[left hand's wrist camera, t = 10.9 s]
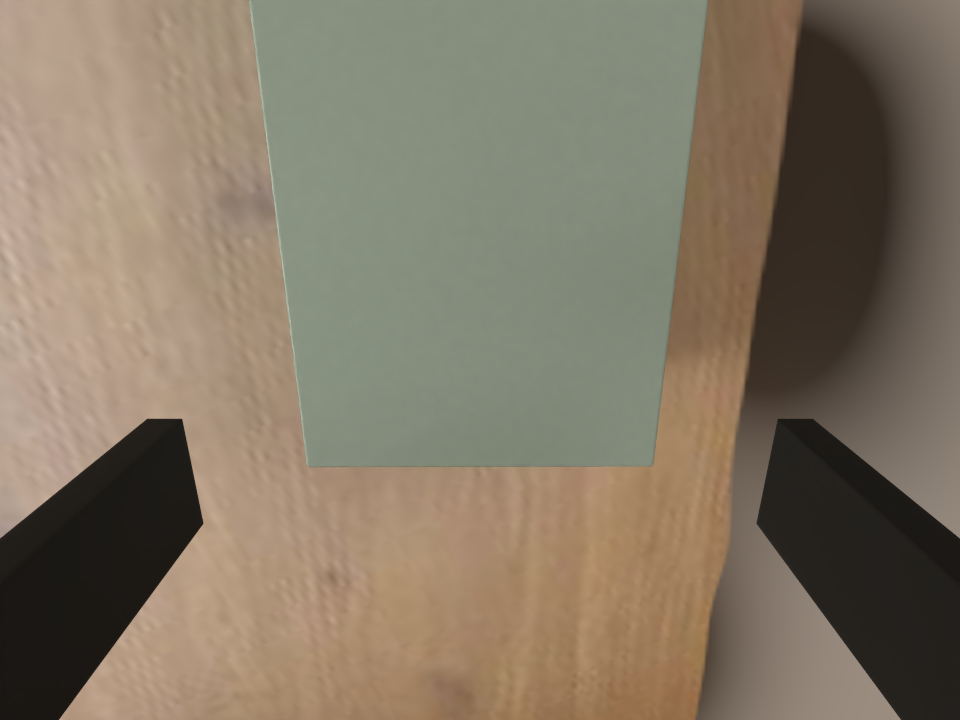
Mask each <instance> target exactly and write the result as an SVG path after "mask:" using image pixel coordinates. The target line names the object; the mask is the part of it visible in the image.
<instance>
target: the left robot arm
mask: <svg viewBox="0 0 960 720" xmlns="http://www.w3.org/2000/svg"><path fill="white" fill-rule="evenodd" d="M202 525H203V519H202V514H201V509H200V504H199V499H198V495H197V490H196V485H195V480H194V475H193V470H192V465H191V460H190V455H189V450H188V445H187V441H186V436H185V431H184V426H183V421H182V419H147V420H145V421H144V422H143V423H142V424H140V425H139V426H138V427H137V428H136V429H134V430H133V431H132V432H131V433H129V434H128V435H127V436H126V437H124V438H123V439H122V440H121V441H120V442H118V443H117V444H116V445H115V446H113V447H112V448H111V449H110V450H108V451H107V452H106V453H105V454H104V455H102V456H101V457H100V458H99V459H97V460H96V461H95V462H94V463H93V464H91V465H90V466H89V467H88V468H86V469H85V470H84V471H83V472H81V473H80V474H79V475H78V476H77V477H75V478H74V479H73V480H72V481H70V482H69V483H68V484H67V485H65V486H64V487H63V488H62V489H61V490H59V491H58V492H57V493H56V494H54V495H53V496H52V497H51V498H49V499H48V500H47V501H46V502H45V503H43V504H42V505H41V506H40V507H38V508H37V509H36V510H35V511H34V512H32V513H31V514H30V515H29V516H27V517H26V518H25V519H24V520H22V521H21V522H20V523H19V524H18V525H16V526H15V527H14V528H13V529H11V530H10V531H9V532H8V533H6V534H5V535H4V536H3V537H2V538H0V720H59V719H60V717H61V716H62V715H63V713H64V712H65V711H66V709H67V708H68V707H69V705H70V704H71V703H72V701H73V700H74V698H75V697H76V696H77V694H78V693H79V692H80V690H81V689H82V688H83V686H84V685H85V684H86V682H87V681H88V679H89V678H90V677H91V675H92V674H93V673H94V671H95V670H96V669H97V667H98V666H99V665H100V663H101V662H102V660H103V659H104V658H105V656H106V655H107V654H108V652H109V651H110V650H111V648H112V647H113V646H114V644H115V643H116V641H117V640H118V639H119V637H120V636H121V635H122V633H123V632H124V631H125V629H126V628H127V627H128V625H129V624H130V622H131V621H132V620H133V618H134V617H135V616H136V614H137V613H138V612H139V610H140V609H141V608H142V606H143V605H144V603H145V602H146V601H147V599H148V598H149V597H150V595H151V594H152V593H153V591H154V590H155V589H156V587H157V586H158V584H159V583H160V582H161V580H162V579H163V578H164V576H165V575H166V574H167V572H168V571H169V570H170V568H171V567H172V566H173V564H174V563H175V561H176V560H177V559H178V557H179V556H180V555H181V553H182V552H183V551H184V549H185V548H186V547H187V545H188V544H189V542H190V541H191V540H192V538H193V537H194V536H195V534H196V533H197V532H198V530H199V529H200V528H201V526H202ZM757 525H758V526H759V527H760V529H761V530H762V532H763V533H764V534H765V536H766V537H767V538H768V540H769V541H770V542H771V544H772V545H773V547H774V548H775V549H776V551H777V552H778V553H779V555H780V556H781V557H782V559H783V560H784V561H785V563H786V564H787V565H788V567H789V568H790V570H791V571H792V572H793V574H794V575H795V576H796V578H797V579H798V580H799V582H800V583H801V585H802V586H803V587H804V588H805V590H806V591H807V593H808V594H809V595H810V597H811V598H812V599H813V601H814V602H815V603H816V605H817V606H818V608H819V609H820V610H821V612H822V613H823V614H824V616H825V617H826V618H827V620H828V621H829V622H830V624H831V625H832V627H833V628H834V629H835V631H836V632H837V633H838V635H839V636H840V637H841V639H842V640H843V641H844V643H845V644H846V645H847V647H848V648H849V650H850V651H851V652H852V654H853V655H854V656H855V658H856V659H857V660H858V662H859V663H860V664H861V666H862V667H863V669H864V670H865V671H866V673H867V674H868V675H869V677H870V678H871V679H872V681H873V682H874V683H875V685H876V686H877V688H878V689H879V690H880V692H881V693H882V694H883V696H884V697H885V698H886V700H887V701H888V702H889V704H890V705H891V707H892V708H893V709H894V711H895V712H896V713H897V715H898V716H899V717H900V719H901V720H960V538H958V537H957V536H956V535H955V534H953V533H952V532H951V531H950V530H949V529H947V528H946V527H945V526H944V525H942V524H941V523H940V522H939V521H937V520H936V519H935V518H934V517H933V516H931V515H930V514H929V513H928V512H926V511H925V510H924V509H923V508H922V507H920V506H919V505H918V504H917V503H915V502H914V501H913V500H912V499H911V498H909V497H908V496H907V495H906V494H904V493H903V492H902V491H901V490H899V489H898V488H897V487H896V486H895V485H893V484H892V483H891V482H890V481H888V480H887V479H886V478H885V477H883V476H882V475H881V474H880V473H879V472H877V471H876V470H875V469H874V468H872V467H871V466H870V465H869V464H867V463H866V462H865V461H864V460H863V459H861V458H860V457H859V456H858V455H856V454H855V453H854V452H853V451H852V450H850V449H849V448H848V447H847V446H845V445H844V444H843V443H842V442H840V441H839V440H838V439H837V438H836V437H834V436H833V435H832V434H831V433H829V432H828V431H827V430H826V429H824V428H823V427H822V426H821V425H820V424H818V423H817V422H816V421H815V420H813V419H778V421H777V426H776V431H775V436H774V441H773V446H772V451H771V456H770V460H769V465H768V470H767V475H766V480H765V485H764V490H763V495H762V500H761V505H760V509H759V514H758V519H757Z"/></svg>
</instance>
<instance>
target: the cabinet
mask: <svg viewBox="0 0 960 720" xmlns="http://www.w3.org/2000/svg"><path fill="white" fill-rule="evenodd" d="M249 5H250V13H251V21H252V29H253V37H254V45H255V53H256V61H257V69H258V77H259V85H260V93H261V101H262V109H263V117H264V125H265V133H266V141H267V149H268V157H269V165H270V173H271V181H272V189H273V197H274V205H275V213H276V221H277V229H278V237H279V246H280V254H281V262H282V270H283V278H284V286H285V294H286V302H287V310H288V318H289V326H290V334H291V342H292V350H293V358H294V366H295V374H296V382H297V390H298V398H299V406H300V414H301V422H302V430H303V438H304V446H305V454H306V462H307V466H308V467H594V466H653V463H654V455H655V446H656V438H657V429H658V421H659V413H660V404H661V396H662V387H663V379H664V370H665V362H666V354H667V345H668V337H669V328H670V320H671V311H672V303H673V295H674V286H675V278H676V269H677V261H678V253H679V244H680V236H681V227H682V219H683V210H684V202H685V194H686V185H687V177H688V168H689V160H690V151H691V143H692V135H693V126H694V118H695V109H696V101H697V92H698V84H699V76H700V67H701V59H702V50H703V42H704V34H705V25H706V17H707V8H708V0H249Z"/></svg>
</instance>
